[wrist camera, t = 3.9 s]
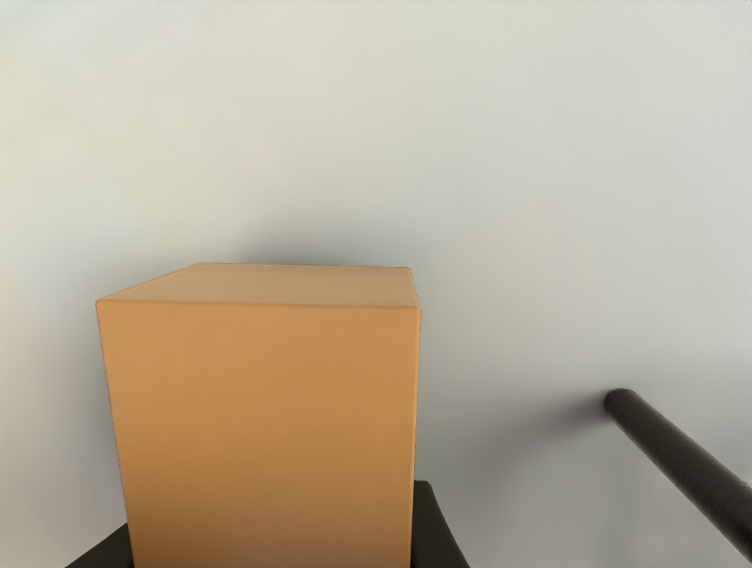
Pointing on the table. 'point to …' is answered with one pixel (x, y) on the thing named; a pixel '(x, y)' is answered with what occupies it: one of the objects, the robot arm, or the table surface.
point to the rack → (687, 467)
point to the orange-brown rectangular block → (266, 414)
